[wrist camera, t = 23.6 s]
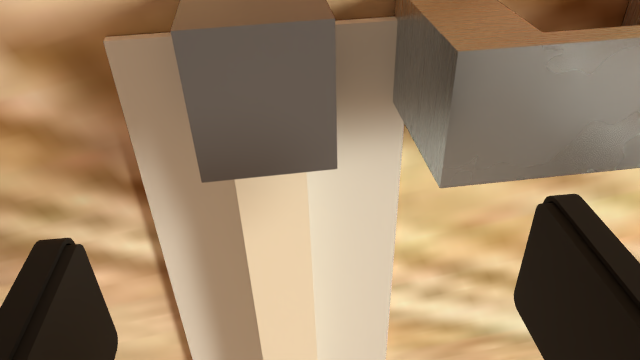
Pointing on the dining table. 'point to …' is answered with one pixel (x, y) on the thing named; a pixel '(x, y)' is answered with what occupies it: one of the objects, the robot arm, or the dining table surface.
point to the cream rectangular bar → (265, 139)
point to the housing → (515, 93)
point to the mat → (323, 198)
